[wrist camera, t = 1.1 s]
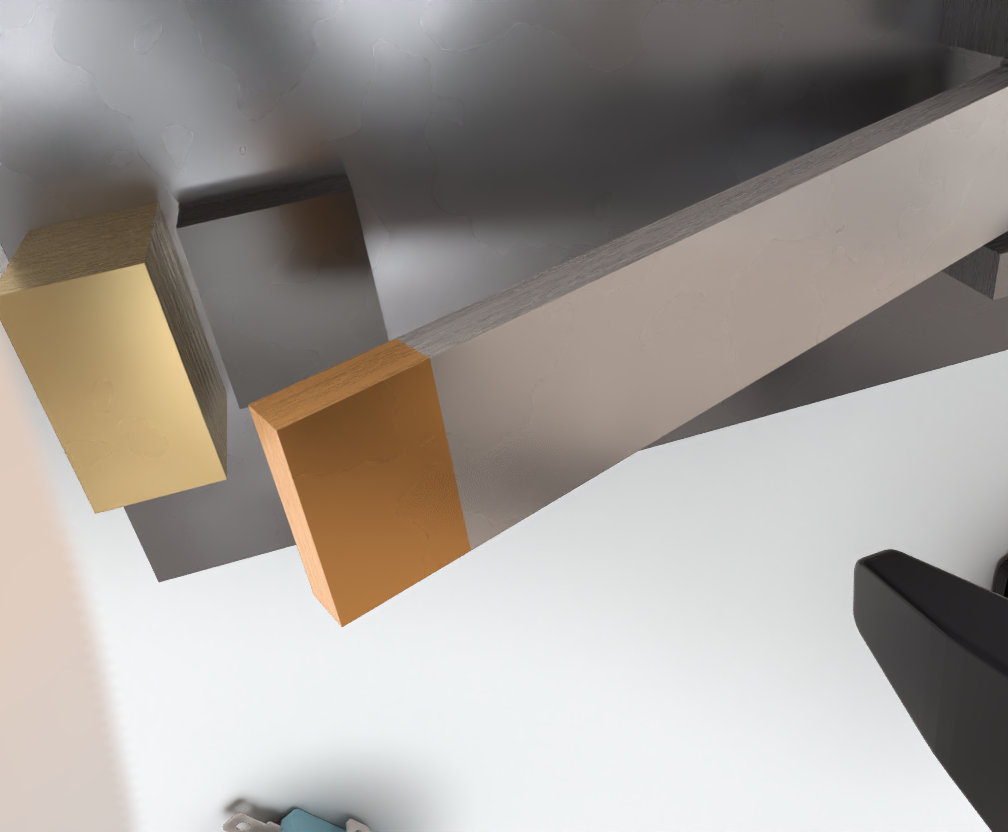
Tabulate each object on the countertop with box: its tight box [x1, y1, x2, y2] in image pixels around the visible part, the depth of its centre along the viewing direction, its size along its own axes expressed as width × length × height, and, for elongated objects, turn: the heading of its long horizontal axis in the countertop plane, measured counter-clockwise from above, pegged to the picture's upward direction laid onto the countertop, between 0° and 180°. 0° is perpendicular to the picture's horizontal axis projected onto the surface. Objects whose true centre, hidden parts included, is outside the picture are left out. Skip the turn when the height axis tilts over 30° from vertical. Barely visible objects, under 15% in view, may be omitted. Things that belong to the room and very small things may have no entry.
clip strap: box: [248, 59, 1008, 627], centre depth 15 cm, size 17×3×1 cm, turn 98°
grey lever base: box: [0, 0, 1008, 582], centre depth 18 cm, size 22×12×6 cm, turn 98°
